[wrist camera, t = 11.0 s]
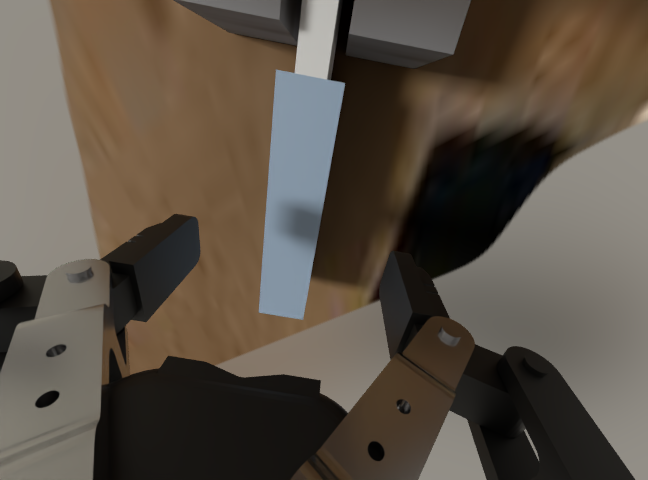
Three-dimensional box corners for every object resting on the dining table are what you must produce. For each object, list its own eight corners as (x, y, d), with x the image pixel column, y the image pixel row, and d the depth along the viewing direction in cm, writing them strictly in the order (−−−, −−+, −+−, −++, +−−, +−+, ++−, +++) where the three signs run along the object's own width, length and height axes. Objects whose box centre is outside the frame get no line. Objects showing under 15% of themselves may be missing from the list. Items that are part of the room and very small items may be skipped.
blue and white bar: (304, -38, 14) (288, -102, 9) (363, -26, 14) (374, -83, 9) (274, 270, 23) (258, 312, 18) (310, 276, 23) (302, 319, 18)
